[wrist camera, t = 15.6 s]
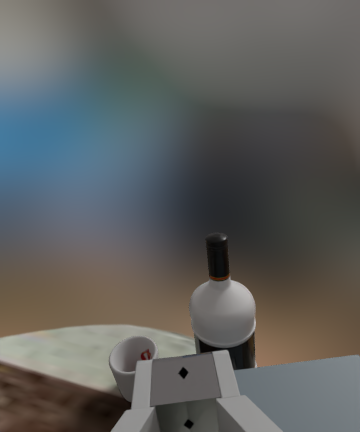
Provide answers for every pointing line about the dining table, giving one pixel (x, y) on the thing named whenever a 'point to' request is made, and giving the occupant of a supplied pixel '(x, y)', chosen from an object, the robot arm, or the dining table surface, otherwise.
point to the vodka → (223, 310)
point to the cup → (130, 361)
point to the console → (307, 394)
